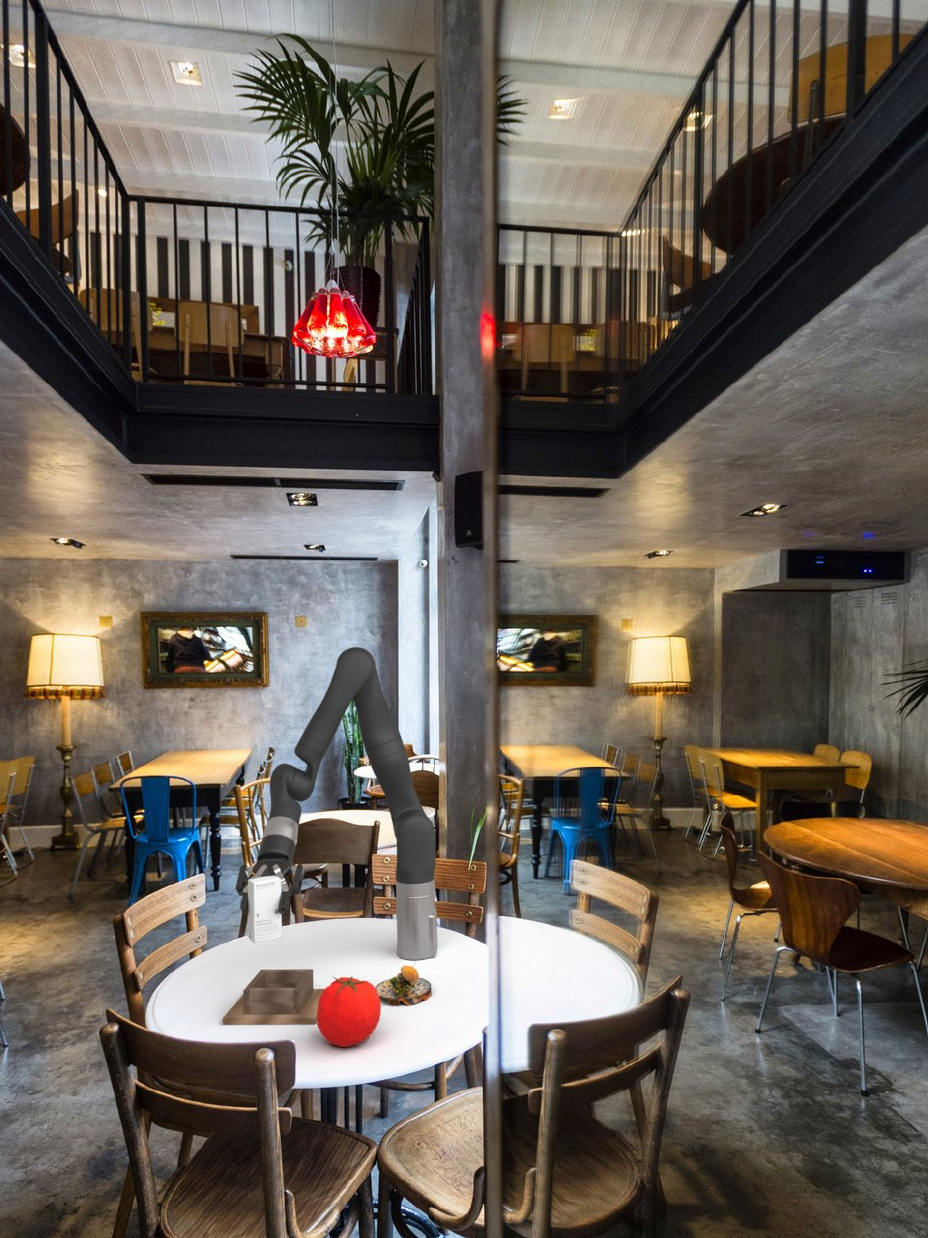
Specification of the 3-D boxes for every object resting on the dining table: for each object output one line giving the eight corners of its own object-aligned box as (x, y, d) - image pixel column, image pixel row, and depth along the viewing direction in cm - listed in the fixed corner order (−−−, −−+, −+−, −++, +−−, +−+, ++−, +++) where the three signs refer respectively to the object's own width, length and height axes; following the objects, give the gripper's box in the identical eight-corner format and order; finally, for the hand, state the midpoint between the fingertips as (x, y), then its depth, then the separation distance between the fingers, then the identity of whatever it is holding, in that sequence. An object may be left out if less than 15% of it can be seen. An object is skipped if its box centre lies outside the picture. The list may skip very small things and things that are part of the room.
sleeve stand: (332, 994, 162) (331, 966, 163) (315, 1024, 148) (315, 993, 149) (246, 995, 163) (246, 967, 164) (222, 1024, 149) (222, 994, 150)
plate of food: (395, 981, 170) (395, 945, 170) (442, 990, 164) (441, 953, 165) (363, 1002, 159) (362, 964, 160) (412, 1012, 153) (411, 973, 154)
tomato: (313, 1032, 145) (312, 971, 146) (374, 1022, 148) (373, 962, 149) (322, 1062, 134) (321, 994, 134) (387, 1050, 137) (386, 985, 138)
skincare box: (254, 944, 159) (252, 883, 160) (247, 938, 163) (246, 879, 163) (283, 937, 162) (282, 878, 163) (276, 932, 166) (274, 874, 167)
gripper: (242, 834, 172) (223, 903, 159) (306, 832, 171) (292, 902, 158) (251, 853, 177) (233, 922, 164) (313, 851, 176) (300, 920, 163)
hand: (262, 912), depth 161 cm, fingers closed on skincare box, 7 cm apart
